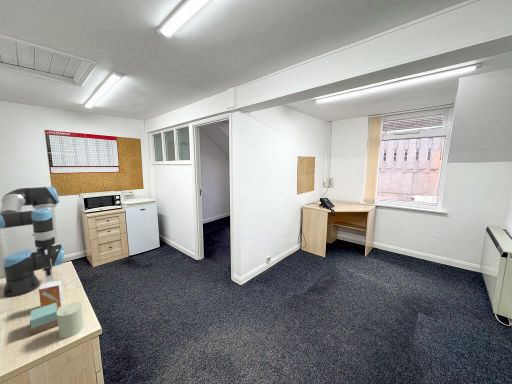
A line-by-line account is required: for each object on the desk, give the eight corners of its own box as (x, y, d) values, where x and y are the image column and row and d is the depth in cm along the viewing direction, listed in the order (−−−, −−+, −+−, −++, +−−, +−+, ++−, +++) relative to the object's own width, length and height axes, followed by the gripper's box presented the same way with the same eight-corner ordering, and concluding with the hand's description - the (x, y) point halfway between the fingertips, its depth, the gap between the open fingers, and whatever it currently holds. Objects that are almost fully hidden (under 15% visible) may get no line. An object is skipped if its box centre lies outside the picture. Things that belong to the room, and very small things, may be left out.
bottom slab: (31, 325, 104) (30, 317, 103) (59, 315, 111) (58, 308, 110) (30, 337, 97) (29, 329, 96) (59, 326, 104) (59, 318, 103)
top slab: (32, 318, 103) (31, 310, 103) (57, 309, 110) (56, 302, 109) (31, 328, 97) (30, 320, 96) (57, 318, 103) (56, 311, 103)
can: (54, 340, 95) (51, 317, 93) (63, 326, 103) (61, 304, 102) (80, 334, 99) (77, 311, 97) (86, 321, 107) (84, 299, 105)
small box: (41, 311, 112) (38, 289, 110) (44, 304, 117) (41, 283, 116) (61, 306, 117) (58, 285, 115) (63, 300, 122) (61, 279, 120)
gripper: (35, 233, 117) (39, 268, 120) (33, 247, 100) (39, 288, 103) (53, 230, 122) (57, 264, 125) (55, 243, 105) (59, 282, 108)
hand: (49, 275), depth 114 cm, fingers open, 13 cm apart
